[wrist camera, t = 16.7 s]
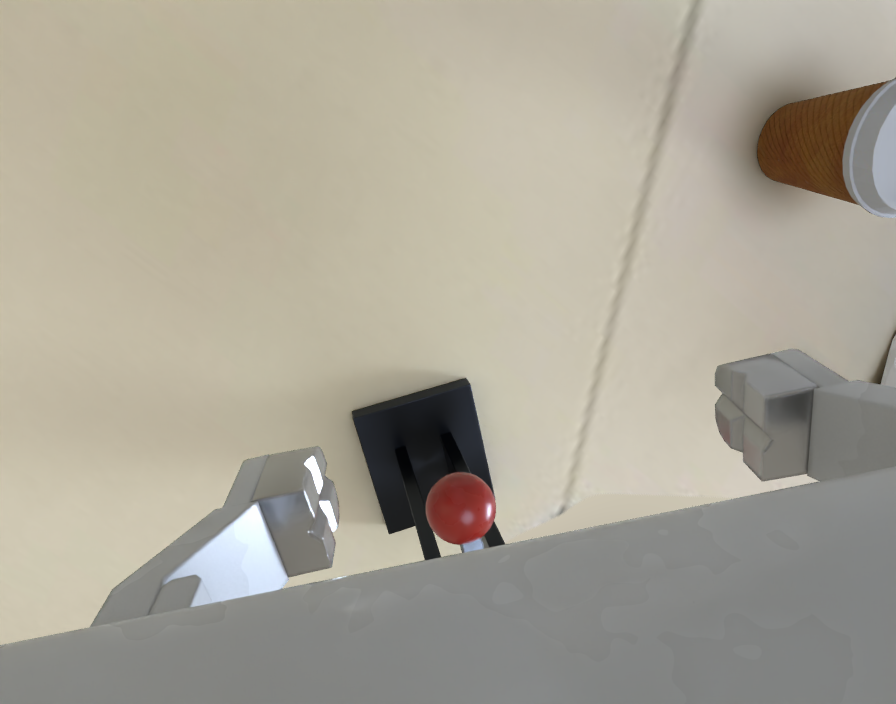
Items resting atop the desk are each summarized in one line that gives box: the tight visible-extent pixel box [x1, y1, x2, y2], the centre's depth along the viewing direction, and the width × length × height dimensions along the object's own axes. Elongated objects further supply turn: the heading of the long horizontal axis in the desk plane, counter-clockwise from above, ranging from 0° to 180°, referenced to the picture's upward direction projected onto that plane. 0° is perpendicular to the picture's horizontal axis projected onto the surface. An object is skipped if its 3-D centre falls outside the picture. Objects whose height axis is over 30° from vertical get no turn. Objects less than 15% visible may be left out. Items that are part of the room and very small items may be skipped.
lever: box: [426, 472, 496, 553], centre depth 29 cm, size 13×4×4 cm
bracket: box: [352, 378, 505, 560], centre depth 39 cm, size 12×10×27 cm
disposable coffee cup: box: [757, 78, 896, 218], centre depth 44 cm, size 10×10×12 cm
